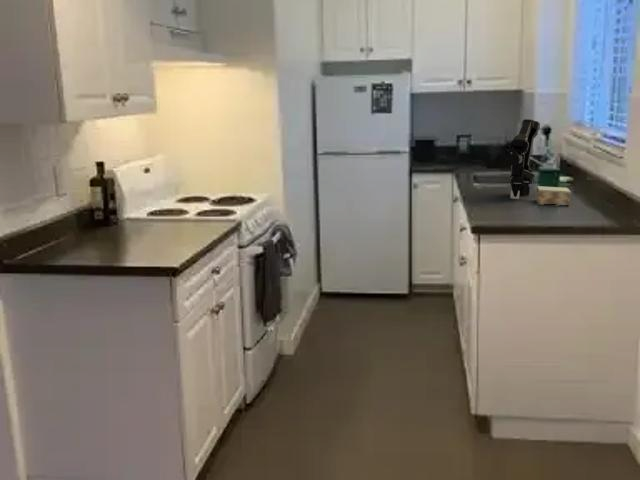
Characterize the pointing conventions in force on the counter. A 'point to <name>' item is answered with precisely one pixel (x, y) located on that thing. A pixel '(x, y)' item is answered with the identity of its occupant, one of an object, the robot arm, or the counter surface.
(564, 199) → the box
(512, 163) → the robot arm
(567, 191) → the lid
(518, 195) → the block
